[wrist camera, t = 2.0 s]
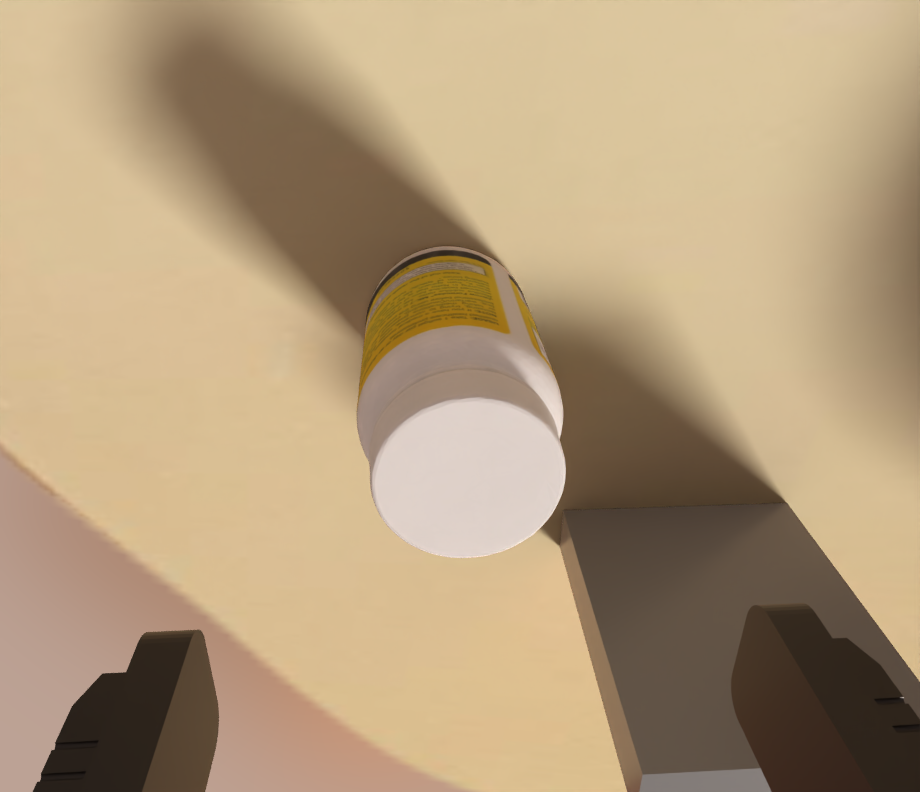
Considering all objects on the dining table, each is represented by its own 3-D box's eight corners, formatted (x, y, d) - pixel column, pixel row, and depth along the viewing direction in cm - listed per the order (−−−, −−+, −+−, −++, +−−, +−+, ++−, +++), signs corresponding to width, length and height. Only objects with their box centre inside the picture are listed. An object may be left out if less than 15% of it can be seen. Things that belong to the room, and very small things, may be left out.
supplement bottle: (335, 333, 22) (300, 502, 15) (432, 209, 21) (447, 328, 13) (460, 416, 24) (484, 606, 17) (559, 307, 22) (634, 462, 15)
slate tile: (563, 510, 26) (642, 774, 17) (786, 502, 26) (975, 756, 18) (559, 549, 27) (633, 820, 18) (776, 541, 27) (951, 802, 19)
